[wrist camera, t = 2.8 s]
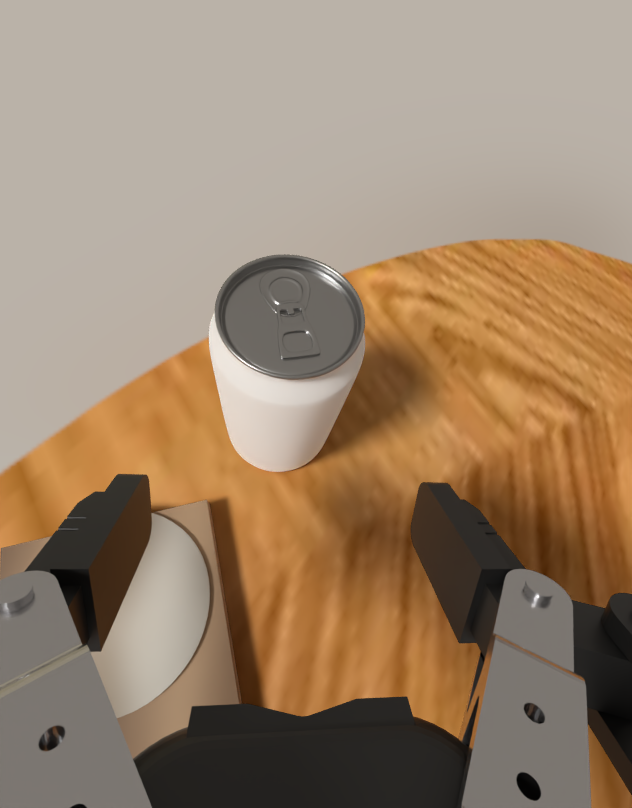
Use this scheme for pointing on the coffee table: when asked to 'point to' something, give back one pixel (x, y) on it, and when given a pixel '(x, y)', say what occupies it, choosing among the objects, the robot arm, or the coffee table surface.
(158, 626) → the board
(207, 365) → the coffee table surface
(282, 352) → the can
